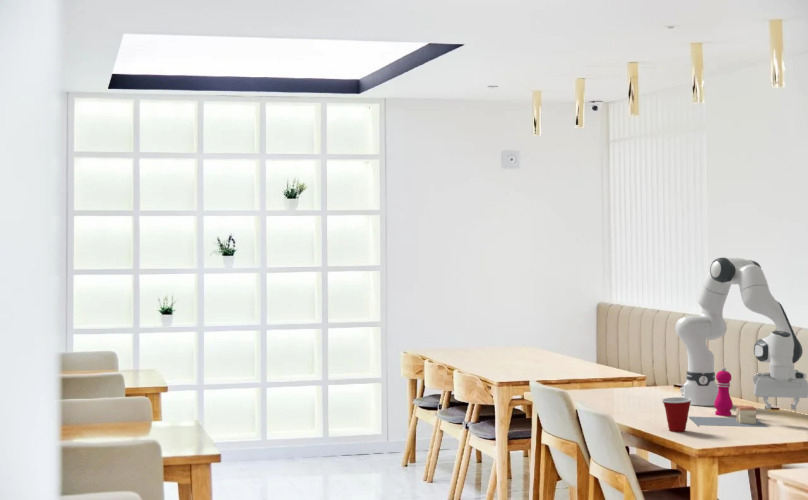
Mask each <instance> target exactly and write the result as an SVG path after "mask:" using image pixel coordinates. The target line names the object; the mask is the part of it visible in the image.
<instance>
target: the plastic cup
mask: <svg viewBox="0 0 808 500" xmlns="http://www.w3.org/2000/svg"><path fill="white" fill-rule="evenodd" d="M691 401H692V399H691V398H685V397H684V396H679V397H667V398H663V399H661V402H662V403H663V406H664V409H665V415H666V421H667V427H668V430H669V432H673V433H684V432H686V427H687V423H688V419H689V412H690V406H691V405H690V403H691Z"/></svg>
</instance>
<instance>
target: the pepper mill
mask: <svg viewBox="0 0 808 500" xmlns="http://www.w3.org/2000/svg"><path fill="white" fill-rule="evenodd" d="M715 380H716V381H717V382H716V384H717V386H718V395H717V397H716V399H715V402H714V405H713V407H714V408H715V410H716V411H715V412H714V413H715V416H718V417H731V416H732V411H731V410H732V409H733V406H734V405H733V400H732V398H731V396H730V387H731V383H730V382H731V381H732V375H731V373H730V371H727V368H726V367H725V366H723V367H721V370H720V371H717V373H715Z"/></svg>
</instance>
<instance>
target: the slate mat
mask: <svg viewBox="0 0 808 500" xmlns="http://www.w3.org/2000/svg"><path fill="white" fill-rule="evenodd" d="M688 419H689V420H691V422H693V424H695V425H696V426H697V427H700V426H707V427H708V426H709V427H710V426H711V427H713V426H714V427H715V426H716V427H742V428H743V427H747V428H748V427H749V428H769V426H768V425H767V424H765V423H763V422H762V421H760V420H758V418H756V424H746V423H739V422H738V421H736V417H725V416H718V417H717V416H688Z"/></svg>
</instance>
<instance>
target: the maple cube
mask: <svg viewBox="0 0 808 500" xmlns="http://www.w3.org/2000/svg"><path fill="white" fill-rule="evenodd" d="M735 416H736V417H735V418H736V421H738V422H739V423H746V424H756V419H757V407H755V406H753V405H737V404H736V415H735Z"/></svg>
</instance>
